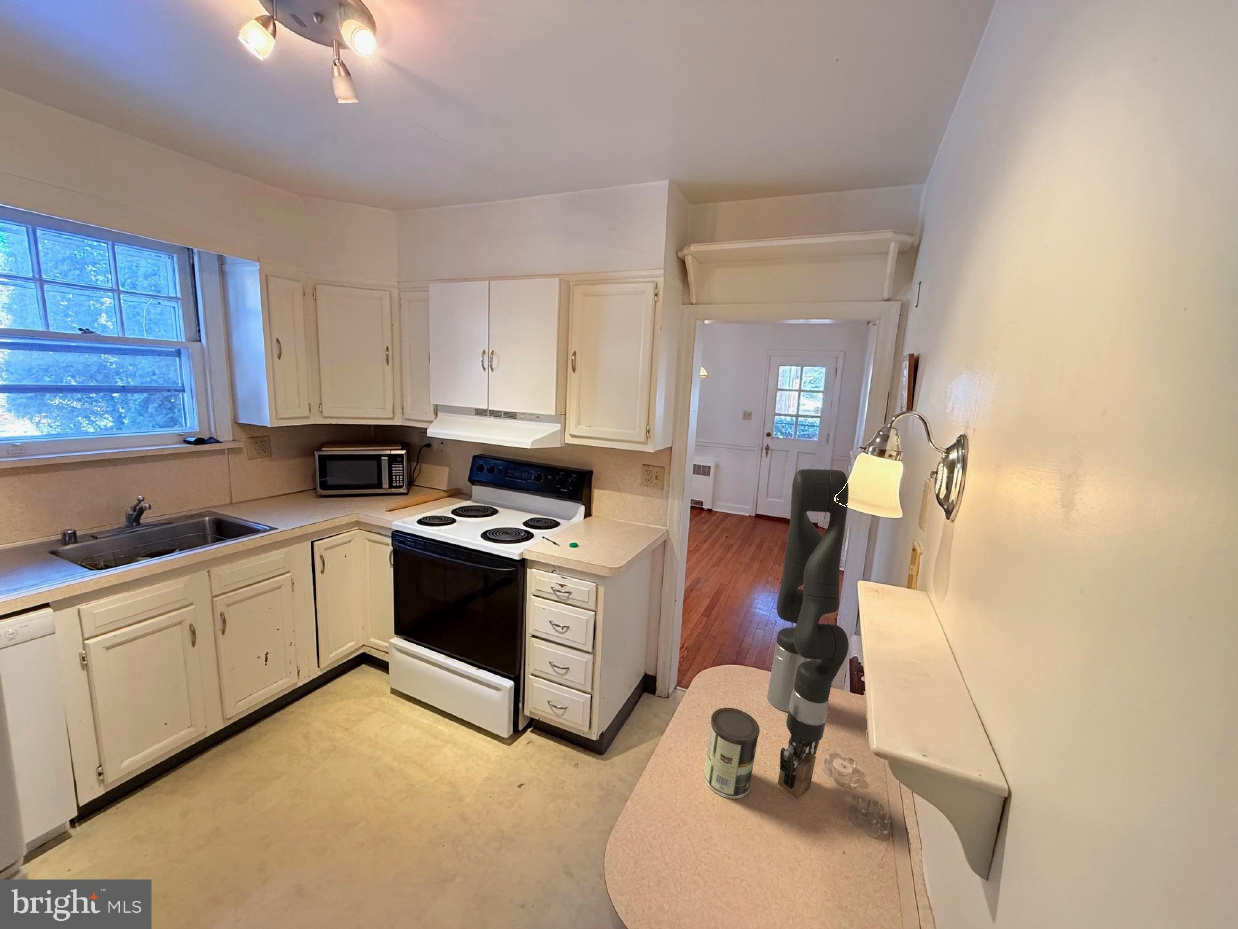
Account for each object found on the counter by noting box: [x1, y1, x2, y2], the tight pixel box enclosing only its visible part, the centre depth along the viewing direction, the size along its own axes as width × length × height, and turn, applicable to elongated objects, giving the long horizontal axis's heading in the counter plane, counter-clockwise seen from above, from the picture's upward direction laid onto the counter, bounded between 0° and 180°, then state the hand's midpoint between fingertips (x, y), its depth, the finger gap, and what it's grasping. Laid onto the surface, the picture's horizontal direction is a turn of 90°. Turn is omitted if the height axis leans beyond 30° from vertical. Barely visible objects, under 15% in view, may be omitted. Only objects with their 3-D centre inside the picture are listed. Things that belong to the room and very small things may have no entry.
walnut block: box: [777, 753, 817, 800], centre depth 107 cm, size 5×5×8 cm
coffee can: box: [703, 707, 760, 800], centre depth 106 cm, size 10×10×14 cm
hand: (794, 779), depth 107 cm, fingers closed on walnut block, 5 cm apart
